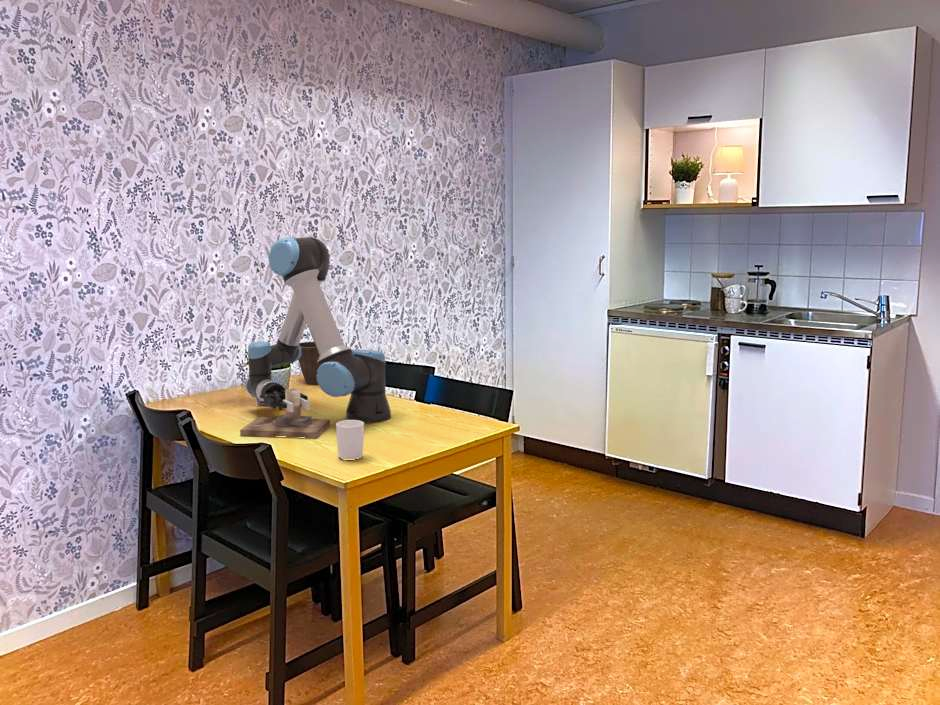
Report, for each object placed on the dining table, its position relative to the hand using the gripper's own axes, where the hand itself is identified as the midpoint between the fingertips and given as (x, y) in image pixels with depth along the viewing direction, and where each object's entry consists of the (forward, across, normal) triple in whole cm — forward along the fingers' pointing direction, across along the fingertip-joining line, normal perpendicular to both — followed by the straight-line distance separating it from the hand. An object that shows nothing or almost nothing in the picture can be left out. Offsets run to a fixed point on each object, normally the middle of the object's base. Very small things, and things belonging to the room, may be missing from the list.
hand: (300, 406), depth 250 cm
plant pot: (-68, -36, -9) cm, 77 cm away
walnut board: (-7, +2, -9) cm, 11 cm away
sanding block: (-6, 0, -7) cm, 9 cm away
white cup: (+30, -2, -9) cm, 31 cm away
